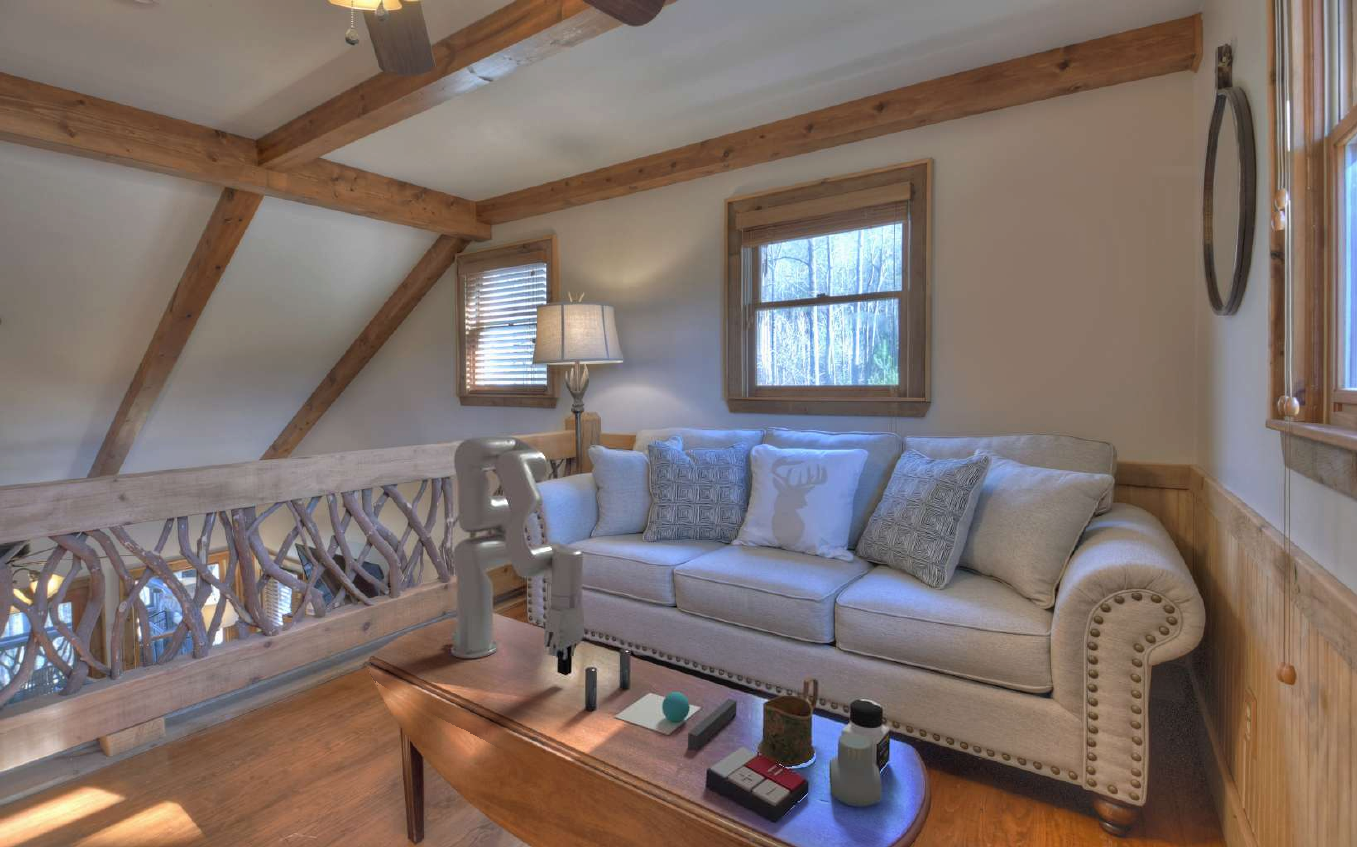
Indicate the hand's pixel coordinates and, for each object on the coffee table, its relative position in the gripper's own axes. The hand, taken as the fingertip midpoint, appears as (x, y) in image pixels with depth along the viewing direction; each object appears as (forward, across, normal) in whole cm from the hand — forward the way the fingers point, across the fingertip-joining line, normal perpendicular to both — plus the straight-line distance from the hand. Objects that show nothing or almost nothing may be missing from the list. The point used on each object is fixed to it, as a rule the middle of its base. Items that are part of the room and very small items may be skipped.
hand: (564, 672), depth 157 cm
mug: (+2, -3, +59) cm, 59 cm away
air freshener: (+1, +7, +74) cm, 74 cm away
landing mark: (+2, 0, +28) cm, 28 cm away
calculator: (+2, +15, +58) cm, 60 cm away
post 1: (+2, +7, +14) cm, 15 cm away
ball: (-1, +1, +33) cm, 33 cm away
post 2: (+2, -6, +14) cm, 15 cm away
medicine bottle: (+1, -4, +73) cm, 73 cm away
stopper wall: (+2, 0, +42) cm, 42 cm away
